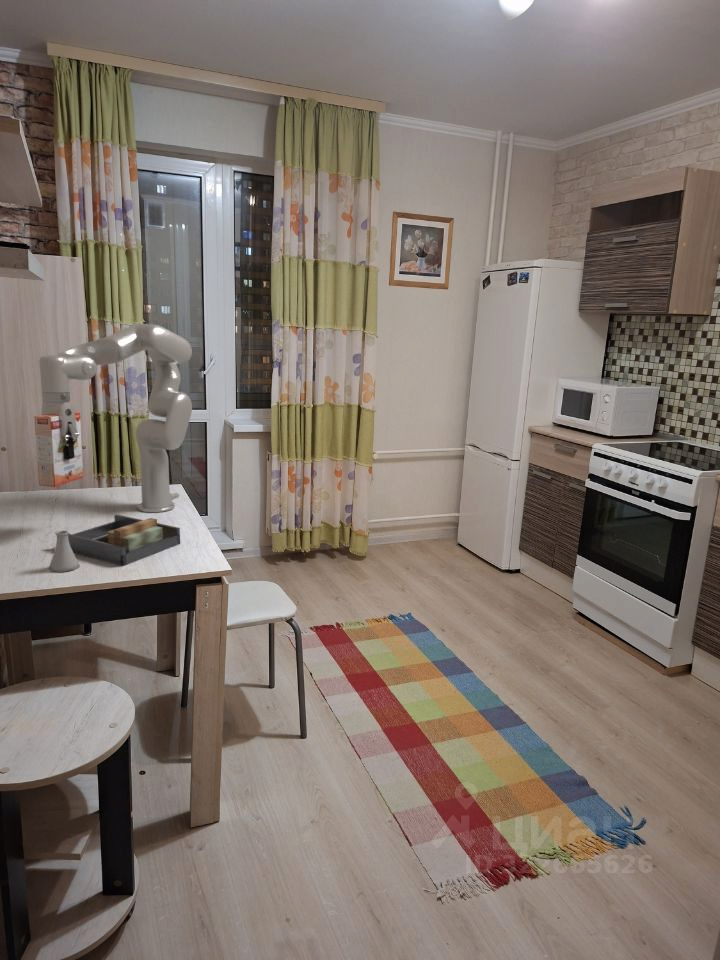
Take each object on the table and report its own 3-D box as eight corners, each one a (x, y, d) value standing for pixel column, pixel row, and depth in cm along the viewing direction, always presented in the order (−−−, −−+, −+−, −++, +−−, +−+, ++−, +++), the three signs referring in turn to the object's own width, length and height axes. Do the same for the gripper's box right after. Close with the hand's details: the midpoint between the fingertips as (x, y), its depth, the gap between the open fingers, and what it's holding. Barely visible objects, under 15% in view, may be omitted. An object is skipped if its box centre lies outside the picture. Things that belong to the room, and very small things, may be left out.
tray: (117, 529, 207) (116, 514, 206) (180, 543, 196) (179, 527, 195) (57, 548, 188) (56, 532, 187) (123, 565, 177) (122, 548, 176)
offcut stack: (145, 542, 197) (144, 516, 195) (164, 546, 193) (163, 520, 192) (108, 555, 185) (107, 528, 183) (128, 560, 181) (126, 532, 180)
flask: (60, 574, 169) (58, 538, 167) (43, 568, 173) (40, 532, 171) (85, 566, 175) (82, 531, 173) (68, 561, 179) (65, 526, 177)
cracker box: (56, 487, 191) (50, 416, 186) (38, 486, 192) (32, 415, 188) (85, 477, 204) (80, 411, 200) (68, 476, 206) (63, 410, 201)
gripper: (87, 399, 192) (91, 458, 196) (47, 394, 200) (51, 452, 204) (65, 401, 186) (70, 462, 190) (25, 396, 193) (30, 455, 197)
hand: (60, 456), depth 197 cm, fingers closed on cracker box, 7 cm apart
